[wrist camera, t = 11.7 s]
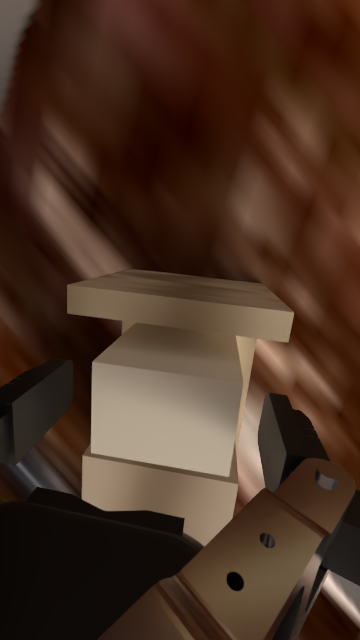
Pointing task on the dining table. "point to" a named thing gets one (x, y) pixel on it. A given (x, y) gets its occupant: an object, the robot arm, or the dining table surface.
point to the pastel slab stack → (187, 313)
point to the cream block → (168, 398)
